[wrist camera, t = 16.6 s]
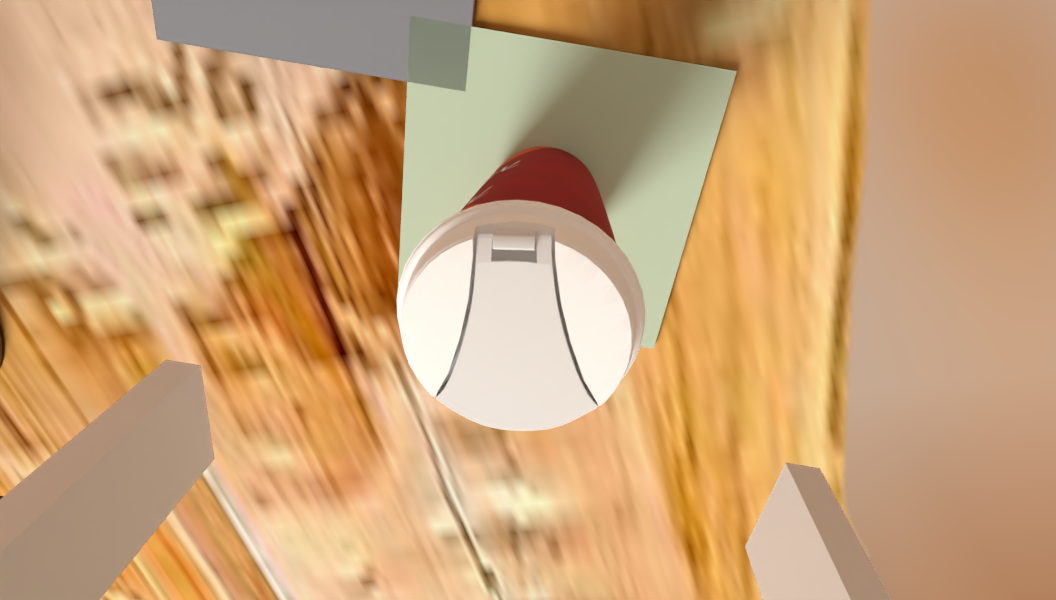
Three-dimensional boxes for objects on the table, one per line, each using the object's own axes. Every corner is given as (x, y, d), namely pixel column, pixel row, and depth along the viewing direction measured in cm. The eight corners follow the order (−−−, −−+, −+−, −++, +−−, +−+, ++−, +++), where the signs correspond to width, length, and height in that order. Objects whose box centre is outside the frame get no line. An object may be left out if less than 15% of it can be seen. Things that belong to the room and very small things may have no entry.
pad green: (399, 301, 35) (397, 304, 34) (412, 16, 27) (410, 16, 27) (652, 345, 34) (653, 348, 34) (734, 70, 27) (736, 71, 27)
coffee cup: (465, 122, 29) (367, 211, 16) (625, 124, 28) (664, 219, 15) (473, 269, 33) (398, 442, 19) (614, 274, 32) (637, 456, 19)
